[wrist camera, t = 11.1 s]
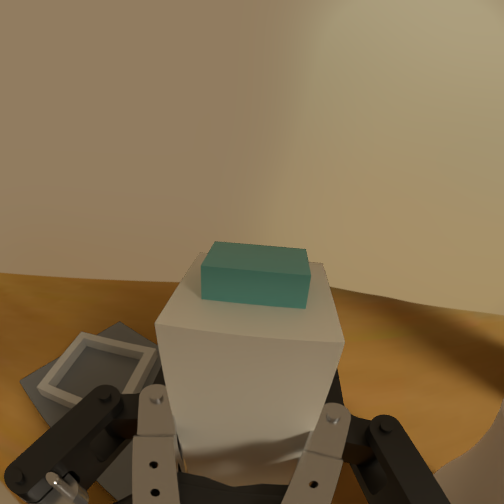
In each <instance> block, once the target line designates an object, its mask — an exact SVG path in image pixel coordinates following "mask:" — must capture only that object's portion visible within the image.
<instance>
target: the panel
mask: <svg viewBox="0 0 504 504" xmlns="http://www.w3.org/2000/svg"><path fill="white" fill-rule="evenodd" d="M161 365H162V364H161V359H160V353H159V348H158V345H156V344H154V343H153V342H151V341H149V340H148V339H146V338H145V337H143V336H141V335H140V334H138V333H137V332H135V331H134V330H132V329H130V328H129V327H127V326H126V325H124V324H123V323H121V322H120V321H119V322H118V323H116V324H114V325H113V326H111V327H109V328H108V329H106V330H104V331H102V332H101V333H99V334H97V335H93V334H89V333H85V332H81V333H80V334H79V335H78V336H77V337H76V339H75V340H74V341H73V342H72V343H71V345H70V346H69V347H68V348H67V349H66V351H65V352H64V353H63V354H62V356H60V357H59V358H57V359H55V360H54V361H52V362H50V363H48V364H47V365H45V366H43V367H42V368H40V369H38V370H37V371H35V372H33V373H32V374H30V375H28V376H27V377H25V378H23V379H22V380H20V383H21V385H22V386H23V388H24V390H25V391H26V393H27V394H28V396H29V398H30V399H31V401H32V402H33V404H34V405H35V407H36V408H37V410H38V411H39V412H40V414H41V415H42V417H43V418H44V420H45V421H46V422H47V424H48V425H49V426H50V428H51V427H52V426H53V425H54V424H55V423H56V422H57V421H59V420H60V419H61V418H62V417H63V416H64V415H65V414H66V413H67V412H69V411H70V410H71V409H72V408H73V407H74V406H75V405H76V404H77V403H79V402H80V401H81V400H82V399H83V398H84V397H85V396H86V395H87V394H89V393H90V392H91V391H92V390H93V389H94V388H96V387H97V386H100V385H112V386H114V387H116V388H117V389H118V390H119V392H120V394H136V393H140V392H141V391H142V390H143V389H144V388H145V387H147V386H149V385H152V384H153V382H154V380H155V378H156V376H157V374H158V372H159V370H160V367H161ZM132 452H133V440H132V441H131V442H130V443H129V444H128V445H127V446H126V448H125V449H124V450H123V451H122V452H121V453H120V454H119V455H118V457H117V458H116V459H115V460H114V461H113V462H112V463H111V464H110V466H109V467H108V468H107V469H106V470H105V471H104V472H103V473H102V474H101V475H100V477H99V478H98V479H97V480H96V481H97V482H98V483H99V484H100V485H102V486H103V487H104V488H105V489H106V490H107V491H108V492H109V493H110V494H111V495H112V496H113V497H114V498H115V499H117V500H118V501H119V500H121V499H123V498H125V497H127V496H128V495H130V494H132ZM183 457H184V456H183ZM184 466H185V471H186V473H188V470H187V466H186V463H185V460H184ZM188 474H189V473H188Z"/></svg>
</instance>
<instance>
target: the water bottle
mask: <svg viewBox="0 0 504 504" xmlns="http://www.w3.org/2000/svg"><path fill="white" fill-rule="evenodd" d="M433 476H434V477H435V479H436V480H437V482H438V484H439V485H440V487H441V488H442V490H443V492H444V493H445V495H446V497H447V498H448V500H449V502H450V503H451V504H504V398H503V401H502V404H501V407H500V410H499V412H498V414H497V416H496V418H495V420H494V422H493V424H492V426H491V427H490V429H489V430H488V431H487V433H486V434H485V435H484V436H483V437H482V439H481V440H480V441H479V442H478V443H477V444H476V445H475V446H473V447H472V448H471V449H470V450H469V451H467V452H466V453H464V454H463V455H461V456H460V457H458V458H456V459H454V460H452V461H451V462H449V463H447V464H446V465H444V466H443V467H442V468H440V469H439V470H438V471H437V472H436V473H435V474H433Z"/></svg>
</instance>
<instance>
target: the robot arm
mask: <svg viewBox="0 0 504 504" xmlns="http://www.w3.org/2000/svg"><path fill="white" fill-rule="evenodd" d="M132 440H133V452H132V494H130V495H128V496H127V497H125V498H123V499H121V500H119V501H117V502H115V503H113V504H331V501H332V498H333V495H334V492H335V488H336V485H337V482H338V478H339V475H340V471H341V468H342V464H343V462H347V463H350V466H351V468H352V470H353V472H354V474H355V476H356V478H357V480H358V482H359V484H360V486H361V489H362V491H363V493H364V495H365V497H366V499H367V501H368V503H369V504H451V503H450V502H449V500H448V498H447V497H446V495H445V493H444V492H443V490H442V488H441V487H440V485H439V484H438V482H437V480H436V479H435V477H434V476H433V474H432V472H431V471H430V469H429V468H428V466H427V464H426V463H425V461H424V460H423V458H422V457H421V455H420V453H419V452H418V450H417V449H416V447H415V446H414V444H413V443H412V441H411V439H410V438H409V436H408V435H407V433H406V432H405V430H404V429H403V427H402V426H401V424H400V423H399V421H398V420H397V419H396V418H394V417H392V416H390V415H379V416H376V417H375V418H373V419H372V421H371V420H366V419H362V418H358V417H355V416H353V415H352V414H350V412H349V410H348V409H347V408H346V407H345V406H344V403H343V397H342V392H341V386H340V381H339V375H338V370H337V369H336V372H335V375H334V378H333V381H332V384H331V387H330V390H329V392H328V395H327V398H326V401H325V403H324V406H323V409H322V411H321V414H320V416H319V419H318V422H317V424H316V427H315V429H314V431H310V433H309V435H308V438H307V441H306V443H305V446H304V449H303V451H302V454H301V456H300V457H299V460H298V462H297V464H296V467H295V469H294V472H293V474H292V476H291V479H290V481H289V483H288V485H278V484H255V485H246V486H236V487H233V486H229V485H226V484H223V483H220V482H218V481H215V480H212V479H210V478H207V477H204V476H199V475H193V474H188V473H186V471H185V466H184V457H183V448H182V445H181V443H180V442H179V439H178V435H177V431H176V421H175V417H174V415H172V411H171V407H170V403H169V398H168V394H167V389H166V384H165V380H164V375H163V370H162V365H161V367H160V370H159V372H158V374H157V376H156V378H155V380H154V382H153V384H152V385H149V386H147V387H145V388H144V389H143V390H142V391H141V392H140V393H136V394H120V392H119V390H118V389H117V388H116V387H114V386H112V385H100V386H97V387H96V388H94V389H93V390H92V391H91V392H90V393H89V394H87V395H86V396H85V397H84V398H83V399H82V400H81V401H80V402H79V403H77V404H76V405H75V406H74V407H73V408H72V409H71V410H70V411H69V412H67V413H66V414H65V415H64V416H63V417H62V418H61V419H60V420H59V421H57V422H56V423H55V424H54V425H53V426H52V427H51V428H50V429H49V430H48V431H46V432H45V433H44V434H43V435H42V436H41V437H40V438H39V439H38V440H36V441H35V442H34V443H33V444H32V445H31V446H30V447H29V448H28V449H27V450H25V451H24V452H23V453H22V454H21V455H20V456H19V457H18V458H17V459H16V460H14V461H13V462H12V463H11V464H10V465H9V466H8V467H7V468H6V470H5V473H4V479H5V483H6V485H7V486H8V488H9V489H10V490H11V491H13V492H14V493H15V494H17V495H18V496H19V497H20V498H21V499H22V500H24V501H25V502H26V503H28V504H88V501H89V496H88V493H87V490H88V489H89V487H90V486H91V485H92V484H93V483H94V482H95V481H96V480H97V479H98V478H99V477H100V475H101V474H102V473H103V472H104V471H105V470H106V469H107V468H108V467H109V466H110V464H111V463H112V462H113V461H114V460H115V459H116V458H117V457H118V455H119V454H120V453H121V452H122V451H123V450H124V449H125V448H126V446H127V445H128V444H129V443H130V442H131V441H132Z"/></svg>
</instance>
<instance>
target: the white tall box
mask: <svg viewBox="0 0 504 504" xmlns="http://www.w3.org/2000/svg"><path fill="white" fill-rule="evenodd" d="M155 330H156V336H157V342H158V348H159V353H160V359H161V364H162V370H163V375H164V380H165V384H166V389H167V394H168V398H169V403H170V407H171V411H172V415H174V417H175V421H176V431H177V435H178V439H179V442H180V443H181V445H182V448H183V456H184V460H185V463H186V466H187V470H188V473H189V474H193V475H199V476H204V477H207V478H210V479H212V480H215V481H218V482H220V483H223V484H226V485H229V486H233V487H236V486H246V485H255V484H278V485H288V483H289V481H290V479H291V476H292V474H293V472H294V469H295V467H296V464H297V462H298V460H299V457H300V456H301V454H302V451H303V449H304V446H305V443H306V441H307V438H308V435H309V433H310V431H314V429H315V427H316V424H317V422H318V419H319V416H320V414H321V411H322V409H323V406H324V403H325V401H326V398H327V395H328V392H329V390H330V387H331V384H332V381H333V378H334V375H335V372H336V369H337V366H338V363H339V360H340V357H341V353H342V350H343V347H344V344H345V341H344V337H343V333H342V329H341V326H340V322H339V318H338V315H337V311H336V307H335V304H334V300H333V297H332V293H331V290H330V287H329V283H328V280H327V277H326V273H325V270H324V267H323V264H322V263H315V262H308V257H307V252H306V249H299V248H286V247H275V246H263V245H252V244H240V243H227V242H214V244H213V246H212V247H211V249H210V251H209V252H208V253H199V255H198V256H197V258H196V259H195V261H194V262H193V264H192V265H191V267H190V268H189V270H188V271H187V273H186V274H185V276H184V278H183V279H182V281H181V282H180V284H179V285H178V287H177V288H176V290H175V291H174V293H173V295H172V296H171V298H170V299H169V301H168V302H167V304H166V306H165V307H164V309H163V310H162V312H161V314H160V315H159V317H158V318H157V320H156V322H155Z"/></svg>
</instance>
